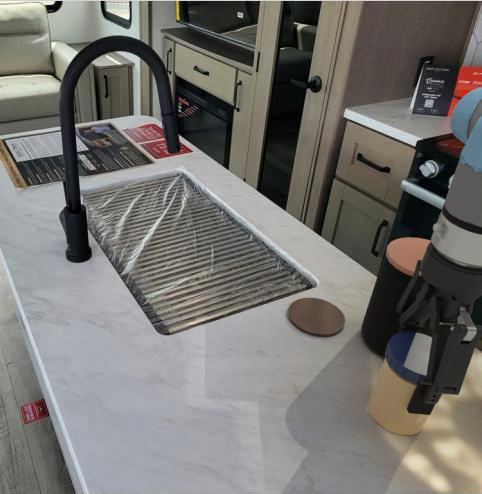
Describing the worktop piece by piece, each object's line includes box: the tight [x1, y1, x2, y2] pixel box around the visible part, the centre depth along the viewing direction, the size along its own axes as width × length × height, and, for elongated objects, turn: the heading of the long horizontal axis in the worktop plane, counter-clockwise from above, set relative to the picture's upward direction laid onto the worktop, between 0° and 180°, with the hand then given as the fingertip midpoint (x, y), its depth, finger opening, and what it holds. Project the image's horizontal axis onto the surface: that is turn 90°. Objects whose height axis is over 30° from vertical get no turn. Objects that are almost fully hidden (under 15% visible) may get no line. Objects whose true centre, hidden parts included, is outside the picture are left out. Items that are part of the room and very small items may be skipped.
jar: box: [367, 357, 430, 436], centre depth 67 cm, size 8×8×12 cm
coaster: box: [287, 297, 346, 338], centre depth 87 cm, size 10×10×1 cm
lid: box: [384, 332, 432, 384], centre depth 63 cm, size 8×8×2 cm
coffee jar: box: [360, 236, 441, 358], centre depth 77 cm, size 11×11×18 cm
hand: (407, 385), depth 66 cm, fingers closed on lid, 8 cm apart
